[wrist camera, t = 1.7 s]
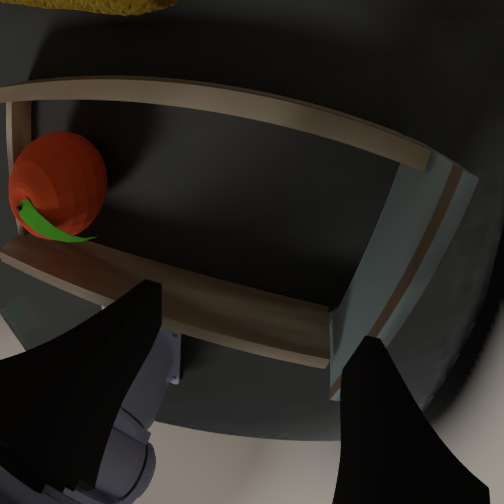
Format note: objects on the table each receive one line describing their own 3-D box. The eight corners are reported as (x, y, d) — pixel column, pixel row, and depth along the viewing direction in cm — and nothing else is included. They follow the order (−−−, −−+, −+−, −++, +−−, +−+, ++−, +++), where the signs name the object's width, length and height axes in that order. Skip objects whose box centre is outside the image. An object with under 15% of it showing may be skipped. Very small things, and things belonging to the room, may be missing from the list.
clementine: (156, 168, 18) (89, 215, 12) (114, 237, 21) (59, 294, 15) (76, 103, 16) (-3, 126, 10) (46, 177, 19) (-17, 215, 13)
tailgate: (339, 327, 21) (343, 401, 16) (328, 325, 21) (329, 399, 16) (421, 142, 14) (479, 178, 8) (408, 136, 14) (462, 169, 8)
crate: (323, 316, 22) (324, 368, 18) (35, 232, 23) (1, 260, 18) (397, 131, 14) (431, 150, 10) (27, 80, 15) (-21, 91, 11)
